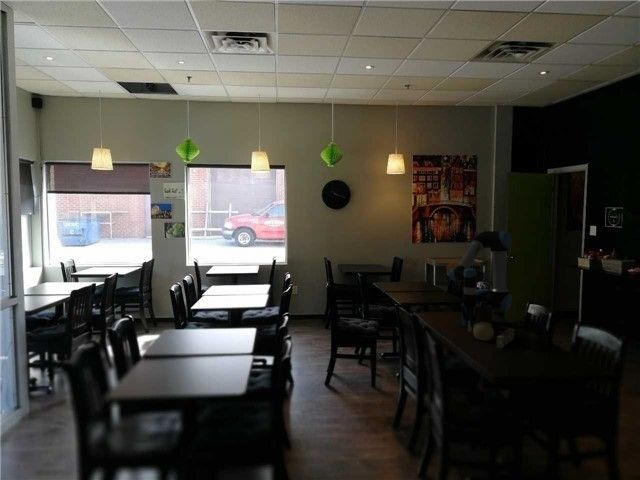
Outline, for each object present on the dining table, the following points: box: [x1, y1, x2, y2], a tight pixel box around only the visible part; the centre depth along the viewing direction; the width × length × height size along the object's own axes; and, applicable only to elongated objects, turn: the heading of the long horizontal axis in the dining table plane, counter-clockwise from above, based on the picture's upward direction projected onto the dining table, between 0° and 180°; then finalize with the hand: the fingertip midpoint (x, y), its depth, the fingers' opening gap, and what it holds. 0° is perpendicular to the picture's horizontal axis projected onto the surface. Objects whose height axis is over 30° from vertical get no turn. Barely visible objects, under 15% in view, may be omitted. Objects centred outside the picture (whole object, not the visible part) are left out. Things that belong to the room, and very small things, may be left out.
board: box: [496, 328, 515, 349], centre depth 273 cm, size 24×3×6 cm, turn 142°
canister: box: [474, 301, 492, 325], centre depth 297 cm, size 11×10×20 cm
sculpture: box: [472, 322, 495, 342], centre depth 280 cm, size 12×12×11 cm
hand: (469, 331), depth 286 cm, fingers closed
